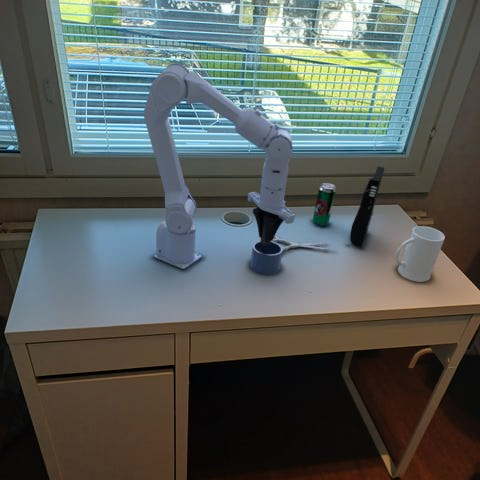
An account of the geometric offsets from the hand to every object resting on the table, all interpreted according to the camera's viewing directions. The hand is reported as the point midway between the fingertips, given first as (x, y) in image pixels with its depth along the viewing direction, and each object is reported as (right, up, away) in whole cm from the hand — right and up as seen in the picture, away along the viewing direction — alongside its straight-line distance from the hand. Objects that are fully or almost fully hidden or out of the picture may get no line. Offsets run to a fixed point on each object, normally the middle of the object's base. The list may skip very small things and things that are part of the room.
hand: (266, 238), depth 117 cm
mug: (+39, -8, +10) cm, 41 cm away
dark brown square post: (0, -1, +1) cm, 1 cm away
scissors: (+10, 0, +16) cm, 18 cm away
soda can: (+18, +10, +30) cm, 36 cm away
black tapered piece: (+28, +4, +23) cm, 37 cm away
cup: (0, -6, +6) cm, 9 cm away
